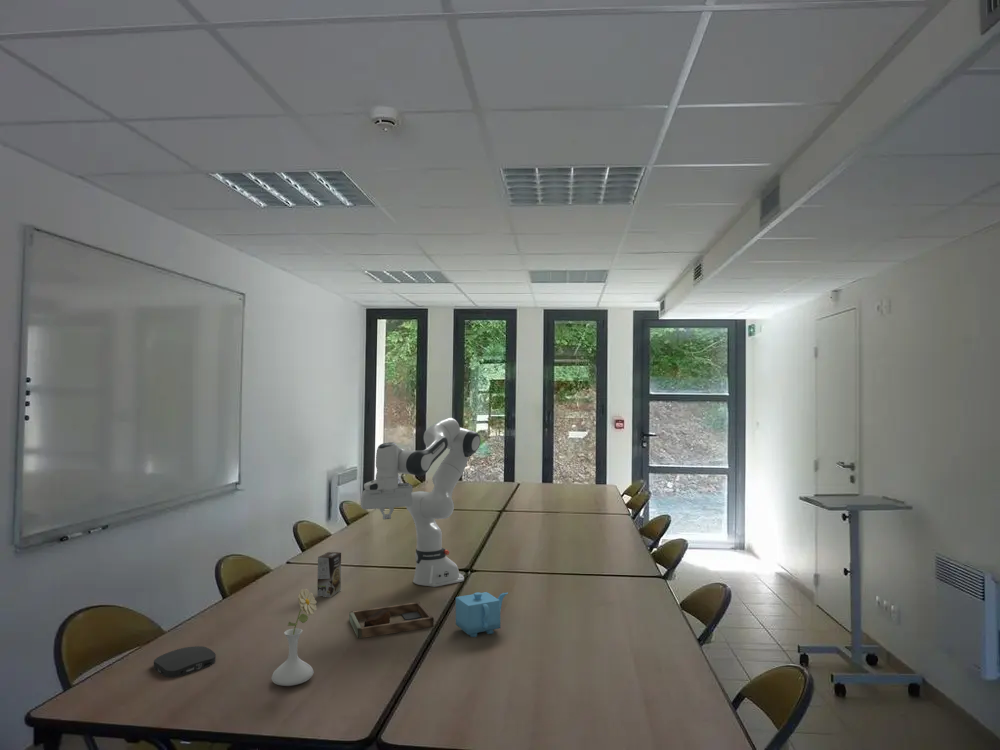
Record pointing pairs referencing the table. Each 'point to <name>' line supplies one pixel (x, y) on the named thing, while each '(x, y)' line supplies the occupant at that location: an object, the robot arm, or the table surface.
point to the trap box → (391, 627)
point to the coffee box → (329, 574)
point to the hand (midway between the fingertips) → (386, 519)
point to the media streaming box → (184, 661)
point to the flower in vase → (294, 667)
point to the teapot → (478, 613)
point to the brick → (378, 618)
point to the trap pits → (411, 616)
